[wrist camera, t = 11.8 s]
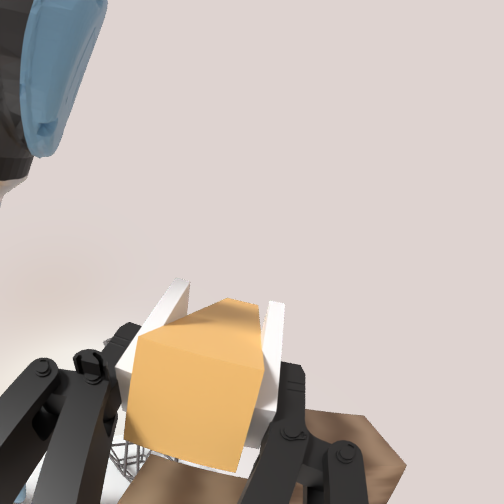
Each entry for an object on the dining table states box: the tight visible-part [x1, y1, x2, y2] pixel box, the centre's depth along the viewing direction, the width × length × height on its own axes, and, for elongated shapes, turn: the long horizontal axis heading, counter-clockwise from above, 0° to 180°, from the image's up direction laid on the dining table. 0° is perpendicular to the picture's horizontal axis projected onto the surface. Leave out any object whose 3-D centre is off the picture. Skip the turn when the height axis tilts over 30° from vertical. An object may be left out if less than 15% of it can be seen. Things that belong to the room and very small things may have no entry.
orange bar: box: [124, 298, 265, 473], centre depth 23 cm, size 30×4×4 cm, turn 179°
